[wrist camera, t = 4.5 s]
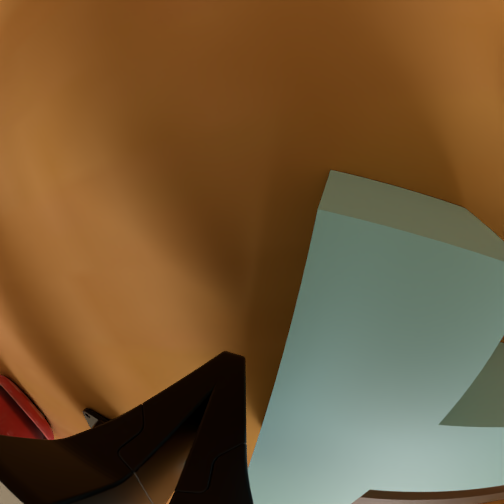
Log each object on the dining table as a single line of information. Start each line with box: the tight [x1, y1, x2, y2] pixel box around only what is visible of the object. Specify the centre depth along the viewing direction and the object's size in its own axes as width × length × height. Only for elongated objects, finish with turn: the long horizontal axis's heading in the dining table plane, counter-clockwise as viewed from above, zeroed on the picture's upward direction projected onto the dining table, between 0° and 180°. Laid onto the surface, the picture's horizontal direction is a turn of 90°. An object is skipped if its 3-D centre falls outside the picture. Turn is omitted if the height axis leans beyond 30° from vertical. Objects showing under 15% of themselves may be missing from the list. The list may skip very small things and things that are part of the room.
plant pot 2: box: [0, 375, 54, 440], centre depth 22 cm, size 13×13×12 cm
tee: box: [248, 170, 504, 504], centre depth 7 cm, size 12×12×4 cm
